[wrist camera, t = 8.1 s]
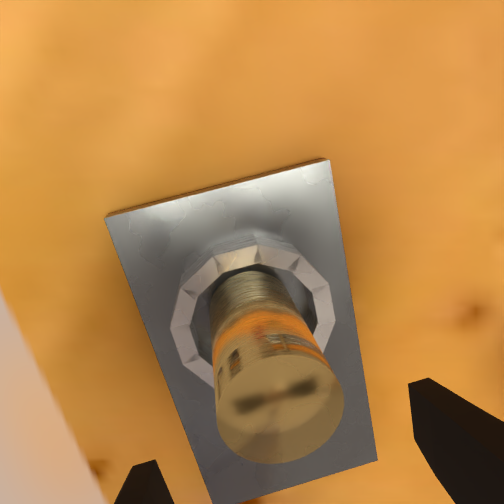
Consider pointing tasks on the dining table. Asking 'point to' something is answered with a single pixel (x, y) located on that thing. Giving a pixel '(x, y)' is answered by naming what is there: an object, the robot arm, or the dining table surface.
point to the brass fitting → (269, 373)
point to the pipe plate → (225, 266)
